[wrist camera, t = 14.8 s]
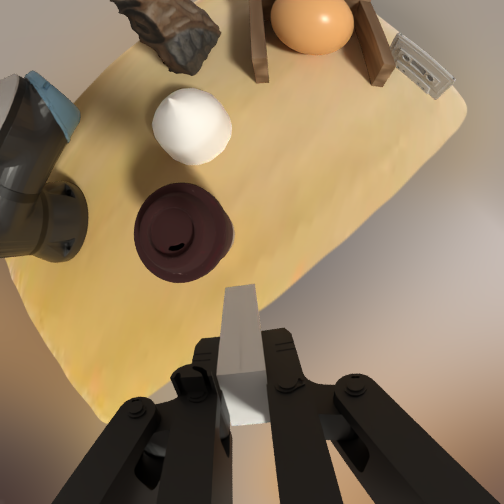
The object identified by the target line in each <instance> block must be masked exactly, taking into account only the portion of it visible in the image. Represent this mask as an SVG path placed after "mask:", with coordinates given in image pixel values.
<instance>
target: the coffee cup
mask: <svg viewBox="0 0 504 504" xmlns="http://www.w3.org/2000/svg"><path fill="white" fill-rule="evenodd" d="M234 237H235V232H234V227H233V224H232V222H231V220H230V219H229V217H228V215H227V214H226V213H225V211H224V210H223V208H222V206H221V205H220V203H219V202H218V201H217V199H216V198H215V197H214V196H213V195H211V194H210V193H209V192H207V191H206V190H204V189H203V188H201V187H199V186H196V185H193V184H189V183H173V184H169V185H166V186H163V187H161V188H160V189H158V190H156V191H155V192H154V193H152V194H151V195H150V196H149V197H148V198H147V199H146V200H145V202H144V203H143V205H142V206H141V208H140V210H139V212H138V215H137V218H136V221H135V226H134V241H135V246H136V250H137V253H138V255H139V257H140V259H141V261H142V262H143V264H144V265H145V266H146V268H147V269H148V270H149V271H150V272H152V273H153V274H154V275H156V276H157V277H159V278H161V279H163V280H165V281H169V282H173V283H185V282H190V281H194V280H196V279H199V278H201V277H203V276H204V275H206V274H208V273H209V272H210V271H211V270H213V269H214V268H215V267H216V265H217V264H218V263H219V261H220V260H221V259H222V258H223V257H224V256H225V255H226V254H227V252H228V251H229V250H230V248H231V247H232V245H233V242H234Z"/></svg>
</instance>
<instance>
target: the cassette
mask: <svg viewBox="0 0 504 504" xmlns="http://www.w3.org/2000/svg"><path fill="white" fill-rule="evenodd" d="M390 50H391V52H392V55H393V58H394V61H395V64H396V68H397V69H398V70H400V71H401V72H402V73H403V74H405V75H406V76H407V77H408V78H409V79H411V80H412V81H413V82H414V83H415V84H416V85H418V86H419V87H420V88H421V89H422V90H423V91H424V92H425V93H426V94H429V95H430V96H431V97H432V98H433V99H435V100H436V99H438V98H439V97H440V96H441V95H442V94H443V93H444V92H445V91H446V90H447V89H448V88H449V87H450V86H451V85H453V84H454V82H455V81H456V79H455V78H454V77H453V76H452V75H451V74H450V73H449V72H448V71H447V70H446V69H445V68H443V67H442V66H441V65H440V64H439V63H438V62H437V61H436V60H434V59H433V58H432V57H431V56H430V55H429V54H428V53H426V52H425V51H424V50H423V49H421V48H420V47H419V46H418V45H416V44H415V43H414V42H413V41H411V40H410V39H408V38H407V37H406V36H404V35H403V34H402V33H400V32H399V33H398V34H396V36H395V38H394V40H393V42H392V44H391V46H390ZM416 62H417V63H418V64H417V63H416ZM423 68H424V69H425V70H424V69H423Z"/></svg>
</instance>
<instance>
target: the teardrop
mask: <svg viewBox="0 0 504 504" xmlns="http://www.w3.org/2000/svg"><path fill="white" fill-rule="evenodd" d="M152 128H153V132H154V136H155V139H156V140H157V141H158V143H159V144H160V145H161V147H162V148H163V149H164V150H165V151H166V152H167V153H168V154H169V155H170V156H171V157H172V158H173V159H174V160H176V161H179V162H181V163H184V164H186V165H200V164H203V163H206V162H209V161H211V160H212V159H213V158H215V157H216V156H217V155H219V154H220V153H221V152H223V151H224V149H225V147H226V145H227V143H228V141H229V139H230V138H231V132H232V124H231V121H230V117H229V115H228V114H227V112H226V110H225V109H224V107H223V106H222V104H221V103H220V102H219V101H218V100H217V99H216V98H215V97H214V96H213V95H212V94H211V93H208V92H205V91H202V90H199V89H196V88H183V89H180V90H177V91H175V92H172V93H171V94H170V95H169V96H167V97H166V98H165V99H164V100H162V102H161V103H160V105H159V107H158V108H157V110H156V112H155V114H154V118H153V121H152Z"/></svg>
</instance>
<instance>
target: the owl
mask: <svg viewBox="0 0 504 504" xmlns="http://www.w3.org/2000/svg"><path fill="white" fill-rule="evenodd" d="M110 1H111V2H114V3H115V4H116V6H117V7H118V9H119V13H120V14H124V15H126V16H127V17H128V19H129V21H130V24H131V27H132V29H133V30H134V31H135V32H136V33H137V34H138V35H139V39H140V42H142V43H144V44H146V45H148V46H150V47H151V48H153V49H154V50H155V51H156V52H157V53H158V55H159V57H160V58H161V59H162V60H163V61H164V62H163V63H164V64H166V65H167V66H168V67H169V71H170V72H174V73H176V74H178V73H184V74H188V75H191V76H193V75H195V74H196V73H197V72H198V71H199V70H200V68H201V66H202V63H203V61H204V60H206V59H207V57H208V54H209V53H210V51H211V49H212V48H213V47H214V46H215V45H216V43H217V41H218V38H219V37H220V35H221V32H220V31H219V26H218V25H216V24H215V23H214V22H213V21H212V20H211V18H210V17H209V15H208V14H207V13H206V12H205V11H204V10H203V9H201V8H199V7H198V6H196V5H195V4H194V3H193V2H192V1H191V0H110Z"/></svg>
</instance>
